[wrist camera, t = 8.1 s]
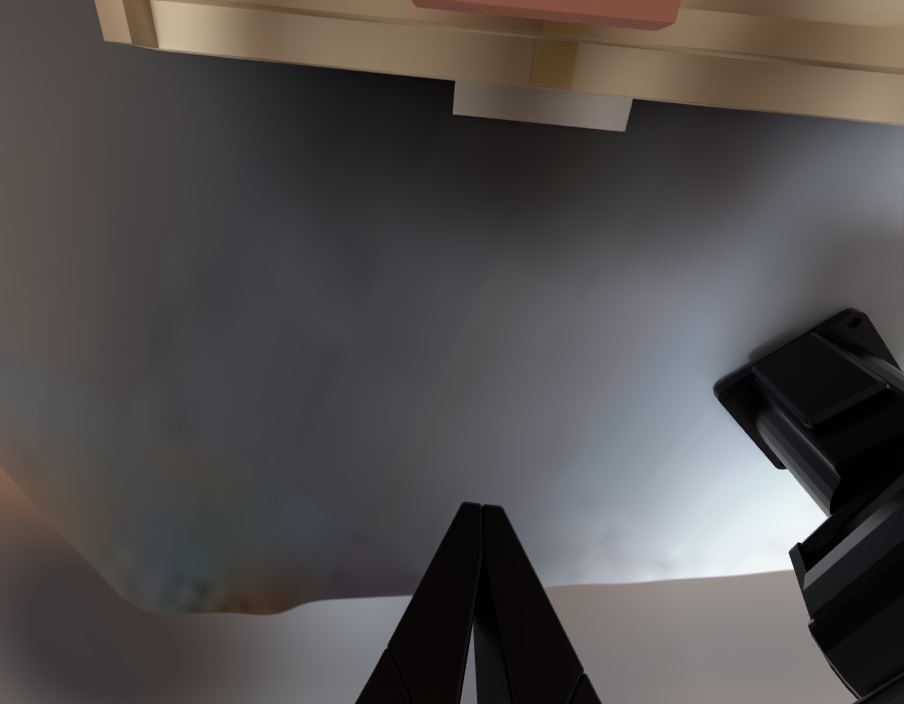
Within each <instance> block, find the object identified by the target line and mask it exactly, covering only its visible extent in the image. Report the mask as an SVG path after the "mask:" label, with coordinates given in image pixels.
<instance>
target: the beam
mask: <svg viewBox="0 0 904 704" xmlns="http://www.w3.org/2000/svg"><path fill="white" fill-rule="evenodd" d="M95 4H96V8H97V12H98V16H99V20H100V24H101V28H102V32H103V36H104V40H105V41H108V42H114V43H120V44H126V45H132V46H138V47H143V48H149V49H155V50H161V51H168V52H178V53H188V54H198V55H208V56H218V57H228V58H237V59H247V60H257V61H267V62H277V63H287V64H296V65H306V66H316V67H326V68H336V69H346V70H356V71H365V72H375V73H385V74H395V75H405V76H415V77H424V78H434V79H444V80H454V81H455V92H454V104H453V114H456V115H466V116H475V117H485V118H495V119H505V120H514V121H524V122H534V123H544V124H553V125H563V126H573V127H582V128H592V129H602V130H612V131H621V132H625V129H626V125H627V121H628V117H629V113H630V109H631V105H632V101H633V99H641V100H651V101H661V102H671V103H680V104H690V105H700V106H710V107H720V108H730V109H740V110H749V111H759V112H769V113H779V114H789V115H799V116H808V117H818V118H828V119H838V120H848V121H858V122H868V123H877V124H887V125H897V126H904V0H681V3H680V7H679V11H678V14H677V18H676V22H675V23H674V24H672V25H670V26H667V27H665V28H663V29H661V30H658V31H651V30H641V29H631V28H621V27H611V26H601V25H591V24H581V23H571V22H560V21H550V20H540V19H530V18H520V17H510V16H500V15H490V14H480V13H469V12H459V11H449V10H439V9H429V8H419V7H416V6H415V5H414V3H413V2H412V1H411V0H95Z"/></svg>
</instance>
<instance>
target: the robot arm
mask: <svg viewBox="0 0 904 704" xmlns="http://www.w3.org/2000/svg"><path fill="white" fill-rule="evenodd" d="M853 318H854V319H853ZM851 319H853V321H852V322H851V323H849V324H848V322H849V321H850V320H851ZM729 391H731V392H730V393H729V394H727V395H724V394H725V393H726V392H729ZM714 394H715V397H716V398H717V399H718V400H719V402H720V403H721V404H722V405H723V406H724V408H725V409H726V410H727V411H728V412H729V413H730V415H731V416H732V417H733V418H734V419H735V420H736V422H737V423H738V424H739V425H740V426H741V427H742V429H743V430H744V431H745V432H746V433H747V434H748V436H749V437H750V438H751V439H752V440H753V441H754V443H755V444H756V445H757V446H758V447H759V448H760V450H761V451H762V452H763V453H764V454H765V455H766V457H767V458H768V459H769V460H770V461H771V462H772V464H773V465H774V466H775V467H776V468H777V469H781V470H783V469H788V470H789V471H790V472H791V474H792V475H793V476H794V477H795V478H796V480H797V481H798V482H799V483H800V484H801V486H802V487H803V488H804V489H805V490H806V492H807V493H808V494H809V495H810V497H811V498H812V499H813V500H814V501H815V503H816V504H817V505H818V506H819V507H820V509H821V510H822V511H823V512H824V513H825V515H826V516H827V517H828V518H827V519H826V520H825V521H824V522H823V523H822V524H821V525H820V526H819V527H818V528H817V529H816V530H815V531H814V532H813V533H812V534H811V535H810V536H809V537H807V538H806V539H805V540H804V541H803V542H802V543H797V544H796V545H795V546H794V547H793V548H792V549H791V550H790V551H789V555H790V558H791V561H792V564H793V567H794V570H795V573H796V576H797V580H798V583H799V586H800V589H801V592H802V594H803V598H804V601H805V604H806V607H807V610H808V613H809V616H810V619H811V621H810V622H809V623H808V627H809V630H810V632H811V635H812V637H813V639H814V640H815V642H816V643H817V645H818V647H819V648H820V650H821V651H822V653H823V655H824V656H825V658H826V660H827V661H828V663H829V665H830V667H831V668H832V670H833V671H834V672H835V673H836V675H837V676H838V677H839V679H840V680H841V681H842V683H843V684H844V685H845V686H846V688H847V689H848V690H849V691H850V692H851V693H852V694H853V695H854V696H855V697H856V698H857V699H858V700H857V701H855V702H854V703H853V704H904V373H903V372H902V370H901V369H900V367H899V366H898V364H897V362H896V361H895V359H894V358H893V356H892V355H891V353H890V351H889V350H888V348H887V347H886V345H885V343H884V342H883V340H882V339H881V337H880V335H879V334H878V332H877V331H876V329H875V327H874V326H873V324H872V323H871V321H870V319H869V318H868V316H867V315H866V314H865V313H863V312H861V311H860V310H858V309H854V308H850V309H846V310H844V311H842V312H840V313H838V314H837V315H835V316H833V317H832V318H830V319H828V320H827V321H825V322H823V323H822V324H820V325H818V326H817V327H815V328H813V329H812V330H810V331H808V332H807V333H805V334H803V335H802V336H800V337H798V338H797V339H795V340H793V341H792V342H790V343H788V344H786V345H785V346H783V347H781V348H780V349H778V350H776V351H775V352H773V353H771V354H770V355H768V356H766V357H765V358H763V359H761V360H760V361H758V362H756V363H755V364H753V365H751V366H750V367H748V368H746V369H745V370H743V371H741V372H740V373H738V374H736V375H735V376H733V377H731V378H730V379H728V380H726V381H725V382H723V383H721V384H720V385H718V386H717V387H716V389H715V391H714ZM472 625H473V634H474V652H475V653H474V654H475V672H476V691H477V704H602V703H601V701H600V699H599V697H598V695H597V693H596V691H595V689H594V687H593V685H592V683H591V681H590V679H589V677H588V675H587V674H586V673H584V674H583V672H584V668H583V666H582V664H581V662H580V660H579V658H578V656H577V654H576V652H575V650H574V648H573V646H572V644H571V642H570V640H569V638H568V636H567V634H566V632H565V630H564V628H563V626H562V624H561V622H560V620H559V618H558V616H557V614H556V612H555V610H554V608H553V606H552V604H551V602H550V600H549V598H548V596H547V594H546V592H545V590H544V588H543V586H542V584H541V582H540V580H539V578H538V576H537V574H536V572H535V570H534V568H533V566H532V564H531V562H530V560H529V558H528V556H527V554H526V552H525V550H524V548H523V546H522V544H521V542H520V540H519V538H518V536H517V534H516V532H515V530H514V528H513V526H512V524H511V523H510V521H509V519H508V517H507V515H506V513H505V511H504V509H503V508H502V507H501V506H498V505H490V504H484V505H483V506H482V505H481V504H479V503H473V502H463V503H462V504H461V506H460V508H459V510H458V511H457V513H456V515H455V517H454V519H453V521H452V523H451V525H450V527H449V529H448V531H447V532H446V534H445V536H444V538H443V540H442V542H441V544H440V546H439V548H438V550H437V552H436V553H435V555H434V557H433V559H432V561H431V563H430V565H429V567H428V569H427V571H426V572H425V574H424V576H423V578H422V580H421V582H420V584H419V586H418V588H417V590H416V592H415V593H414V595H413V597H412V599H411V601H410V603H409V605H408V607H407V609H406V611H405V613H404V615H403V616H402V618H401V620H400V622H399V624H398V626H397V628H396V630H395V632H394V634H393V636H392V637H391V639H390V641H389V643H388V645H387V649H385V650H384V652H383V654H382V656H381V658H380V660H379V662H378V664H377V665H376V667H375V669H374V671H373V673H372V675H371V676H370V678H369V680H368V682H367V683H366V685H365V687H364V689H363V690H362V692H361V694H360V696H359V698H358V699H357V701H356V703H355V704H460V700H461V694H462V688H463V682H464V675H465V669H466V663H467V656H468V650H469V644H470V638H471V631H472ZM582 674H583V675H582Z"/></svg>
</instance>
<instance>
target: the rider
mask: <svg viewBox="0 0 904 704" xmlns="http://www.w3.org/2000/svg"><path fill="white" fill-rule="evenodd" d="M411 1H412V2H413V3H414V5H415V6H416V7H419V8H429V9H439V10H449V11H459V12H469V13H480V14H490V15H500V16H510V17H520V18H530V19H540V20H550V21H560V22H571V23H581V24H591V25H601V26H611V27H621V28H631V29H641V30H651V31H658V30H661V29H663V28H665V27H667V26H670V25H672V24H674V23H675V22H676V18H677V14H678V11H679V7H680V3H681V0H411Z"/></svg>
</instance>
